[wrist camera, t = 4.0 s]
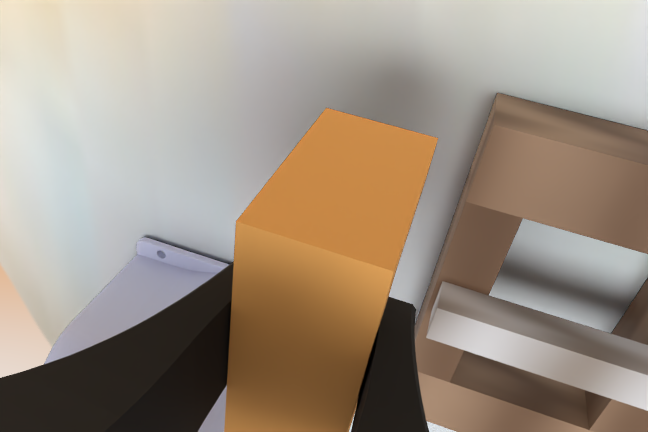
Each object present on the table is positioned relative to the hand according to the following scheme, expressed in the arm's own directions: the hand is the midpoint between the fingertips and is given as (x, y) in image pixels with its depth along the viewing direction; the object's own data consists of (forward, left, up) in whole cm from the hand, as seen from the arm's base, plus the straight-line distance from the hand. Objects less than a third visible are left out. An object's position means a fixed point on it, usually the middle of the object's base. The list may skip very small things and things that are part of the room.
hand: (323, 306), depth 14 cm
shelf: (+8, -5, -10) cm, 14 cm away
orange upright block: (0, 0, -3) cm, 3 cm away
